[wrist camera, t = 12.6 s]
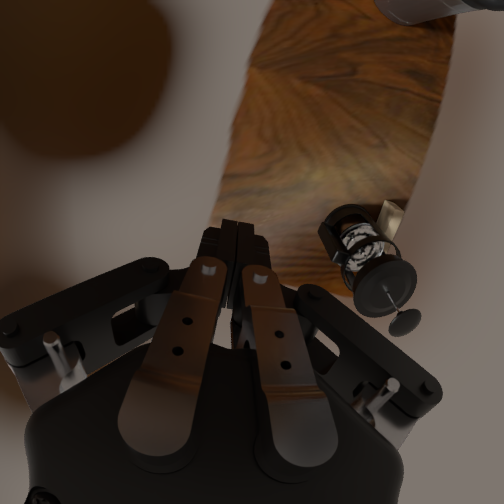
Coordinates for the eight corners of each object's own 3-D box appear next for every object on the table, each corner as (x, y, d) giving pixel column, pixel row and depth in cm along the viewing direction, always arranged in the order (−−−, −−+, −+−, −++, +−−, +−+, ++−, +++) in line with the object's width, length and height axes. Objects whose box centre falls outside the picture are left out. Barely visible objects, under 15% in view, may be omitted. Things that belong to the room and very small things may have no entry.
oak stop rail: (385, 199, 43) (395, 209, 39) (393, 202, 43) (404, 212, 39) (356, 267, 50) (363, 280, 46) (365, 269, 50) (372, 281, 47)
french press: (383, 215, 44) (457, 300, 24) (360, 259, 49) (412, 356, 29) (326, 192, 42) (388, 280, 22) (303, 242, 47) (339, 348, 27)
